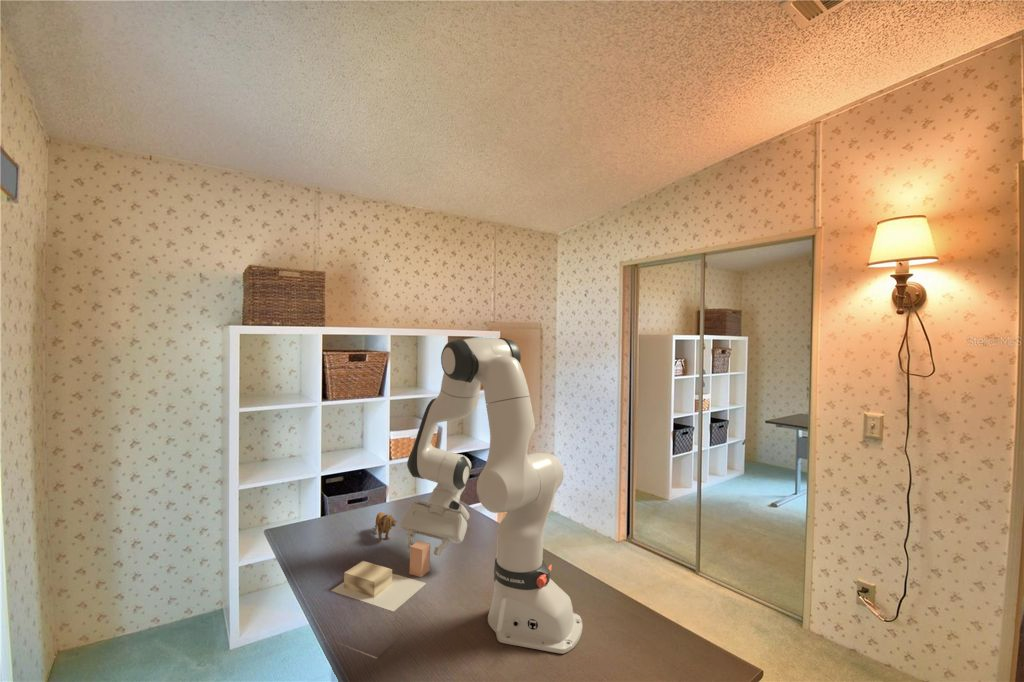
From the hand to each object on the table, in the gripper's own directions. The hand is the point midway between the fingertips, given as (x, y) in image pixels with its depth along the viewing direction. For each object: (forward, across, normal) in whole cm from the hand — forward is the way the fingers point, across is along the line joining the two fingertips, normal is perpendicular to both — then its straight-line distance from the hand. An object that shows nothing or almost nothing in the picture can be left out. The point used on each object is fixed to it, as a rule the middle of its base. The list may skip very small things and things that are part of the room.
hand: (422, 551), depth 130 cm
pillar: (+5, 0, +3) cm, 6 cm away
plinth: (+13, -8, -5) cm, 16 cm away
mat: (+13, -5, -4) cm, 14 cm away
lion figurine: (-5, -24, +13) cm, 28 cm away
